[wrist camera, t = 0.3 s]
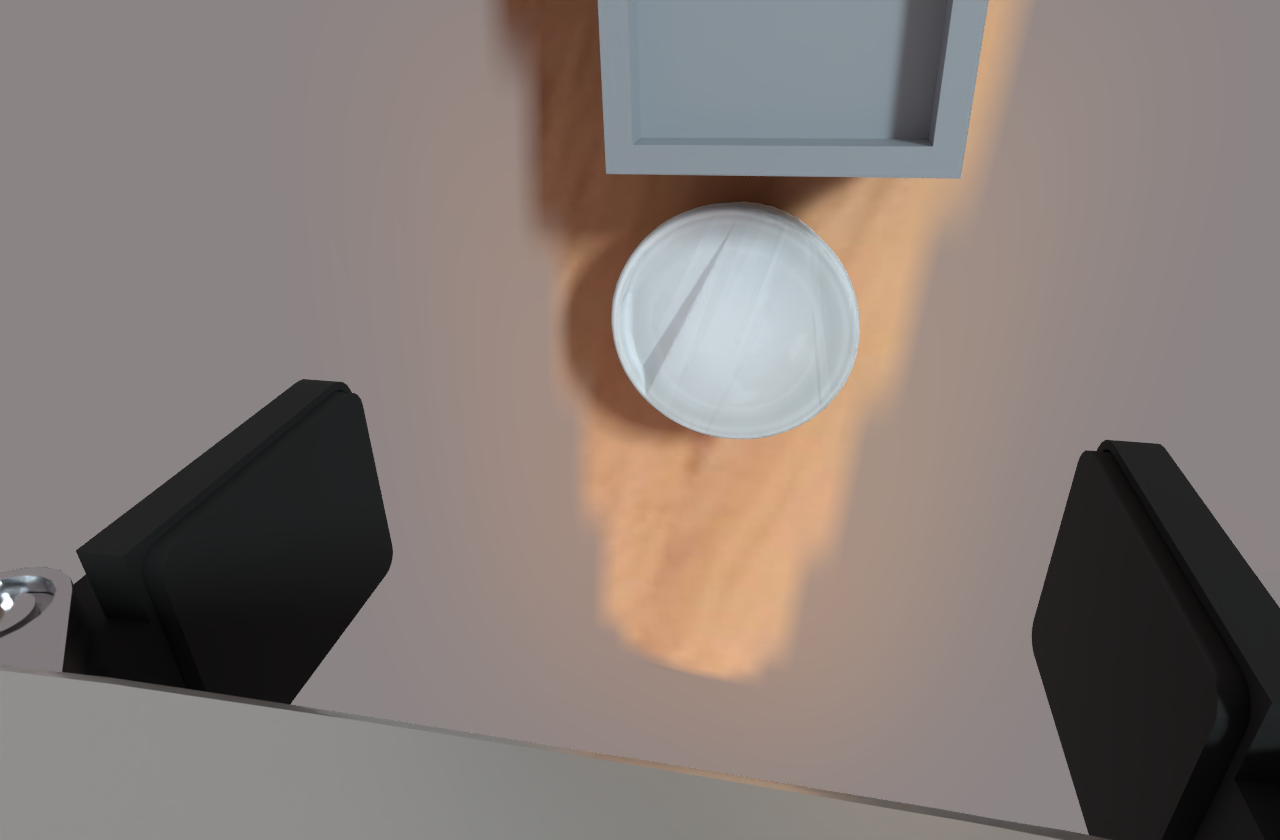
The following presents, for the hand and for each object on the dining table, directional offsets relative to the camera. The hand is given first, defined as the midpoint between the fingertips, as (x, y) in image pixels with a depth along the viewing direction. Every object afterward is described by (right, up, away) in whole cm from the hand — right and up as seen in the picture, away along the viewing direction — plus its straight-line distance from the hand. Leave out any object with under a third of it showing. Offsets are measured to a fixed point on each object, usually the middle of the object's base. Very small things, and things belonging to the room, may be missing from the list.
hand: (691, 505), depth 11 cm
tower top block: (+5, +17, +19) cm, 26 cm away
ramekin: (+4, +8, +30) cm, 31 cm away
